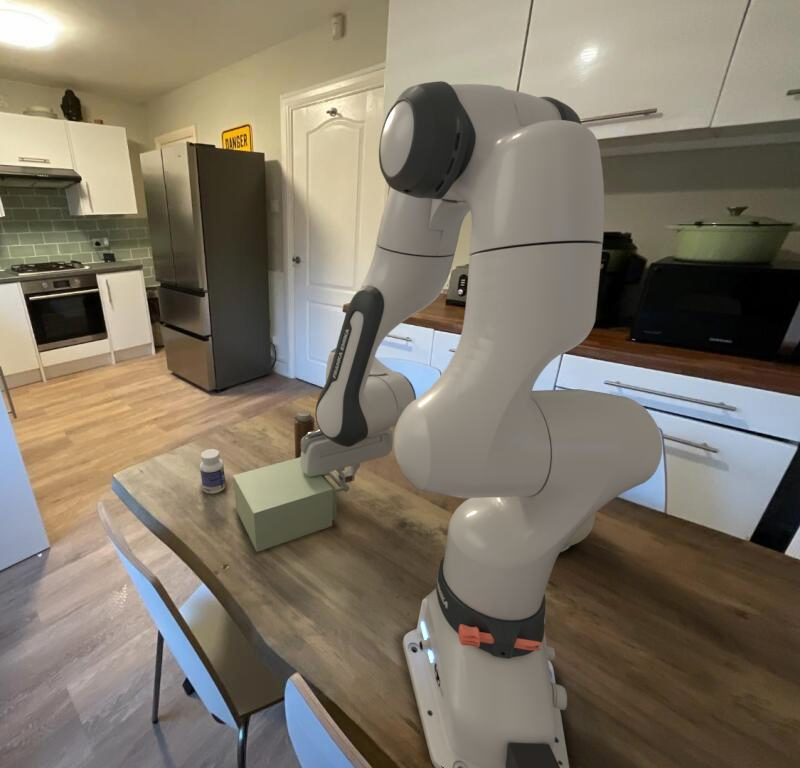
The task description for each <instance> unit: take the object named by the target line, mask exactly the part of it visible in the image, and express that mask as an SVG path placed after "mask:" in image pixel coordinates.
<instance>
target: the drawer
mask: <svg viewBox="0 0 800 768" xmlns="http://www.w3.org/2000/svg"><path fill="white" fill-rule="evenodd" d="M320 475H321V476H322V478H323V479H324V480H325V481H326V482H327V483H328V484H329V485H330V487H331V488H332V489H333V506H332V521H333V520H336V519H337V493H340V492H344V493H346V492H348V491H349V490H350V486H349V485H348V483H345V482H344V481H343V480H342V479H341V478H340V477H339V474H338V473H336V471H335V470H334V471H331V472H327V473H324V474H320ZM327 476H329V477H330V478H331V479H332V480H333V482H335V484H336V485H337V486H338V487H336V486H334V485H333V484H332V483H331V481H329V479H328V478H327Z"/></svg>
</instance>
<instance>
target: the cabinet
mask: <svg viewBox="0 0 800 768" xmlns="http://www.w3.org/2000/svg"><path fill="white" fill-rule="evenodd" d="M300 458H301V457H299V458H295V457H294V458H292V459H289V460H285V461H281V462H277V463H273V464H269V465H266V466H262V467H258V468H255V469H250V470H247V471H244V472H241V473H236V474H233V475H232V479H233V489H234V498H235V499H234V500H235V508H236V509H235V510H236V513H237V514H238V516H239V518H240V520H241V522H242V524H243V526H244V528H245V531H246V533H247V535H248V537H249V539H250V541H251V543H252V546H253V547H254V550H255V551H256V552H257V553H258V552H262V551H264V550H267V549H270V548H272V547H276V546H278V545H281V544H284V543H287V542H289V541H293V540H295V539H299V538H301V537H304V536H308V535H310V534H313V533H316V532H319V531H322V530H324V529H328V528H330V527H333V520H332V506H333V489H332V488H331V487H330V485H329V484H328V483H327V482H326V481H325V480H324V479H323V478H322V476H321V475H317V476H314V477H309V476H308V475H306V474H305V473H304V472H303V470H302V469H301V467H300Z"/></svg>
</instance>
